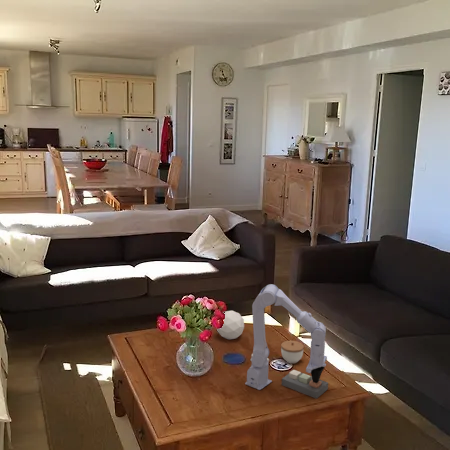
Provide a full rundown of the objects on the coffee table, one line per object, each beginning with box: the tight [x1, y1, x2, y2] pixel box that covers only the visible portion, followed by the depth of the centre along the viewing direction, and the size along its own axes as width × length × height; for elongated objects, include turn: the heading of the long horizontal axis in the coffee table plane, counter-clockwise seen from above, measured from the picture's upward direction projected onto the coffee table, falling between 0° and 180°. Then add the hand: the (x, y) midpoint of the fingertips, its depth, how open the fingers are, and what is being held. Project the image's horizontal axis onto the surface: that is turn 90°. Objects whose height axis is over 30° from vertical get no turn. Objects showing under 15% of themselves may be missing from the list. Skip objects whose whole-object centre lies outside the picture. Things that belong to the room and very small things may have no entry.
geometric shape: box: [216, 310, 245, 340], centre depth 265 cm, size 14×15×15 cm
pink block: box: [309, 380, 323, 388], centre depth 215 cm, size 4×4×3 cm
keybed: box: [281, 372, 329, 399], centre depth 219 cm, size 10×17×3 cm, turn 52°
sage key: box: [299, 372, 312, 384], centre depth 218 cm, size 4×4×3 cm
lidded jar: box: [280, 340, 305, 364], centre depth 242 cm, size 11×11×9 cm
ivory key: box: [288, 369, 302, 380], centre depth 221 cm, size 4×4×3 cm
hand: (315, 381), depth 215 cm, fingers closed, pressing on pink block
